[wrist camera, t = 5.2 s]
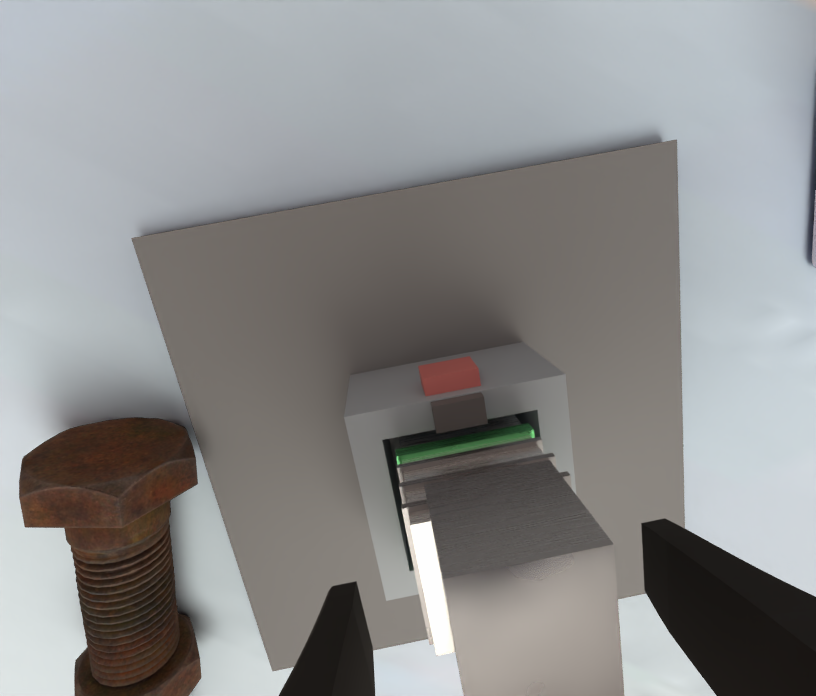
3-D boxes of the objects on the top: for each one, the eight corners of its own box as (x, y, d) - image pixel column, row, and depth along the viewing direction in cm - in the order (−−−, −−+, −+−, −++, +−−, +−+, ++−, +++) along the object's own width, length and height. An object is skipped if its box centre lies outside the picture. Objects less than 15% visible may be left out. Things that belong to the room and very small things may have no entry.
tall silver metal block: (514, 385, 16) (650, 537, 8) (532, 535, 17) (661, 782, 10) (388, 409, 15) (405, 587, 8) (418, 558, 17) (457, 827, 9)
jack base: (663, 143, 18) (784, 108, 13) (675, 573, 23) (764, 674, 18) (142, 237, 17) (42, 242, 12) (276, 655, 22) (246, 786, 17)
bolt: (167, 666, 24) (140, 403, 20) (239, 714, 22) (225, 432, 18) (44, 781, 19) (-27, 462, 15) (123, 856, 17) (66, 511, 13)
